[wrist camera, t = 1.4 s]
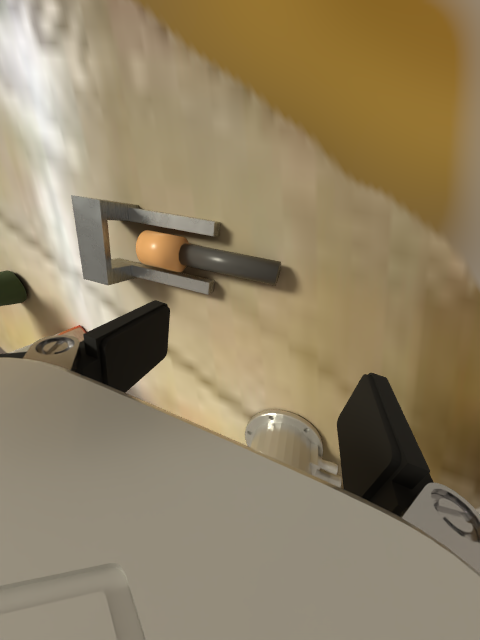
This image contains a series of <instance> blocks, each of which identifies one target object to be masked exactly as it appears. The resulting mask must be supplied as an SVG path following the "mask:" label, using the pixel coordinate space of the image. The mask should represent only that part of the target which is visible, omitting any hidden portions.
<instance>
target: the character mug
mask: <svg viewBox="0 0 480 640" xmlns="http://www.w3.org/2000/svg"><path fill="white" fill-rule="evenodd" d="M26 298H27V294H26V290H25V288H24V287H23V285H22V283H21V282H20V280H19V279H18V278H17V277H16V276H15V274H14V273H13V272H11V271H3V272H0V306H3V305H11V304H17V303H22V302H24V301H26Z"/></svg>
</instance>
